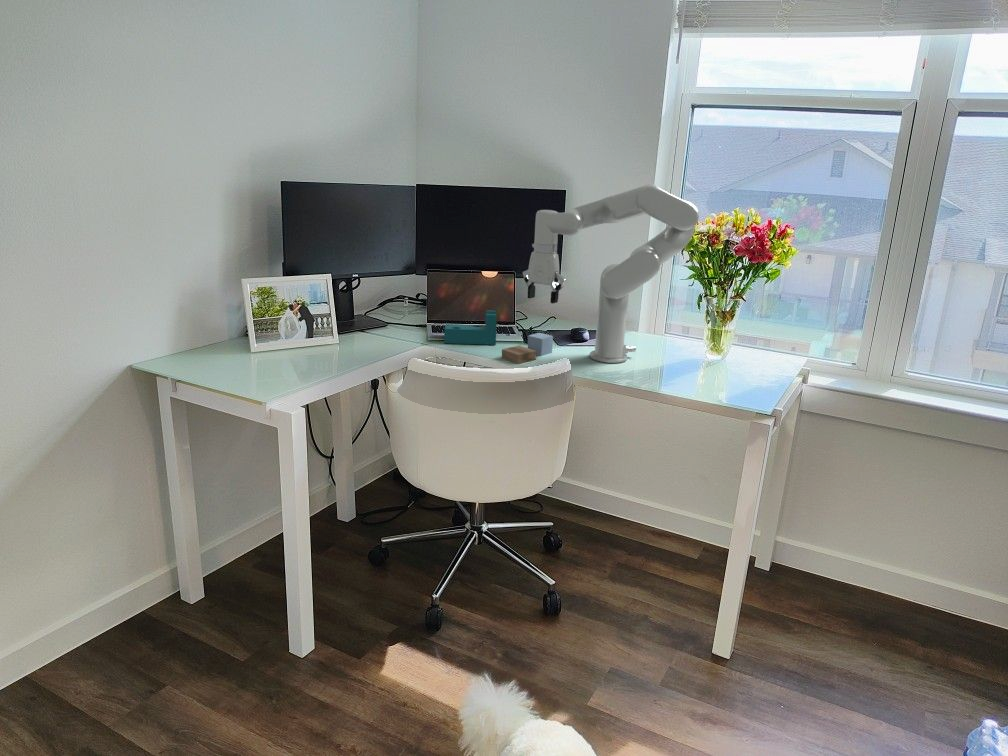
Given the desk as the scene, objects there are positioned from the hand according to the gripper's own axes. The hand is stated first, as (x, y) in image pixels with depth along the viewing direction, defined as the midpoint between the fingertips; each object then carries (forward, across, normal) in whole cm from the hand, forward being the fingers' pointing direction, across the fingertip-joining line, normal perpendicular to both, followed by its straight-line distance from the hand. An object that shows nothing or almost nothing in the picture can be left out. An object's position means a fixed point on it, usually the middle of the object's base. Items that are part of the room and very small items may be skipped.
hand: (542, 300), depth 244 cm
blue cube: (+18, 0, 0) cm, 18 cm away
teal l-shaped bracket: (+19, -26, -7) cm, 33 cm away
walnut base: (+18, 0, -11) cm, 21 cm away
